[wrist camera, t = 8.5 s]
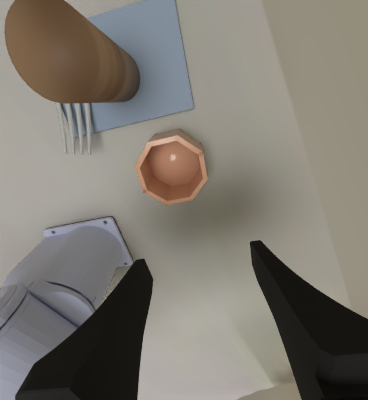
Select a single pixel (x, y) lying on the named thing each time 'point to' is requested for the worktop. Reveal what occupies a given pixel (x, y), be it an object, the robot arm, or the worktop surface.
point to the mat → (143, 65)
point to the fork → (70, 122)
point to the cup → (172, 167)
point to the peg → (67, 55)
